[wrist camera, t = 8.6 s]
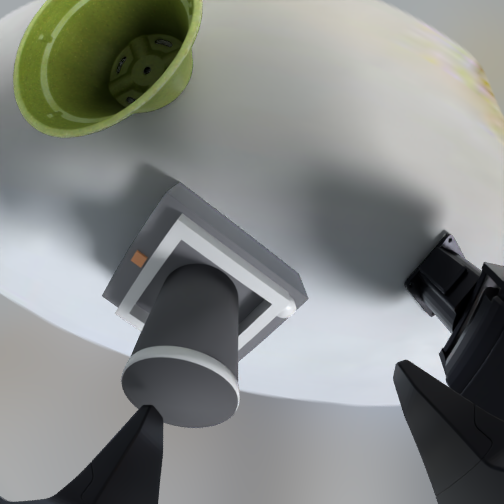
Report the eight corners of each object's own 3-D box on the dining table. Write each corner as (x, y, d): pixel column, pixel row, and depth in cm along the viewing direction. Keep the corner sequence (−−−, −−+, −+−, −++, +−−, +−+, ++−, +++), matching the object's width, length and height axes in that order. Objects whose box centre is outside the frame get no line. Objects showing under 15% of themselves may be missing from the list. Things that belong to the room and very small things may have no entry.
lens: (233, 333, 19) (231, 433, 11) (161, 323, 18) (129, 416, 11) (245, 269, 17) (248, 368, 9) (162, 257, 16) (112, 345, 9)
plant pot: (124, 9, 12) (68, -40, 4) (241, 31, 14) (241, -37, 6) (75, 118, 15) (-7, 121, 7) (186, 151, 17) (141, 164, 9)
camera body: (298, 273, 21) (312, 309, 17) (226, 343, 23) (224, 383, 19) (179, 181, 18) (160, 196, 13) (119, 273, 20) (95, 305, 16)
